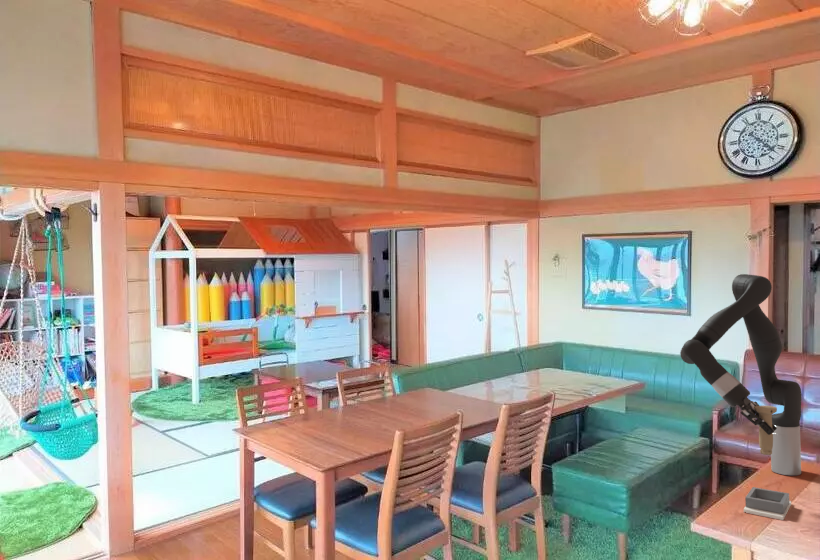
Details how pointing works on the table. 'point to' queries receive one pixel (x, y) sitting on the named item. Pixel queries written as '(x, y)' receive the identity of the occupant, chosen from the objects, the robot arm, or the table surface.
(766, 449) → the handle
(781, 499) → the holder
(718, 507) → the table surface
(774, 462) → the robot arm
